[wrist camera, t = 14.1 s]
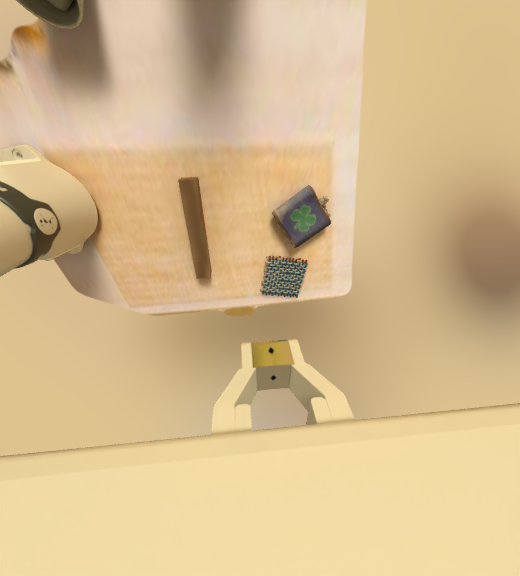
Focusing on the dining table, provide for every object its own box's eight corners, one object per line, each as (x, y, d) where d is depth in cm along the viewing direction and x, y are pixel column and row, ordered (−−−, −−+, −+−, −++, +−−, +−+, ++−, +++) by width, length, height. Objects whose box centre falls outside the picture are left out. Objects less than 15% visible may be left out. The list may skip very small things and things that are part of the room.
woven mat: (308, 257, 54) (311, 261, 52) (297, 294, 59) (299, 298, 58) (266, 253, 52) (267, 256, 51) (259, 290, 58) (259, 295, 56)
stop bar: (198, 272, 53) (196, 278, 50) (181, 177, 42) (178, 180, 39) (211, 271, 53) (210, 277, 50) (198, 177, 42) (195, 179, 40)
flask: (272, 213, 44) (319, 178, 42) (270, 211, 46) (314, 177, 44) (296, 250, 48) (340, 219, 46) (293, 246, 50) (335, 216, 48)
